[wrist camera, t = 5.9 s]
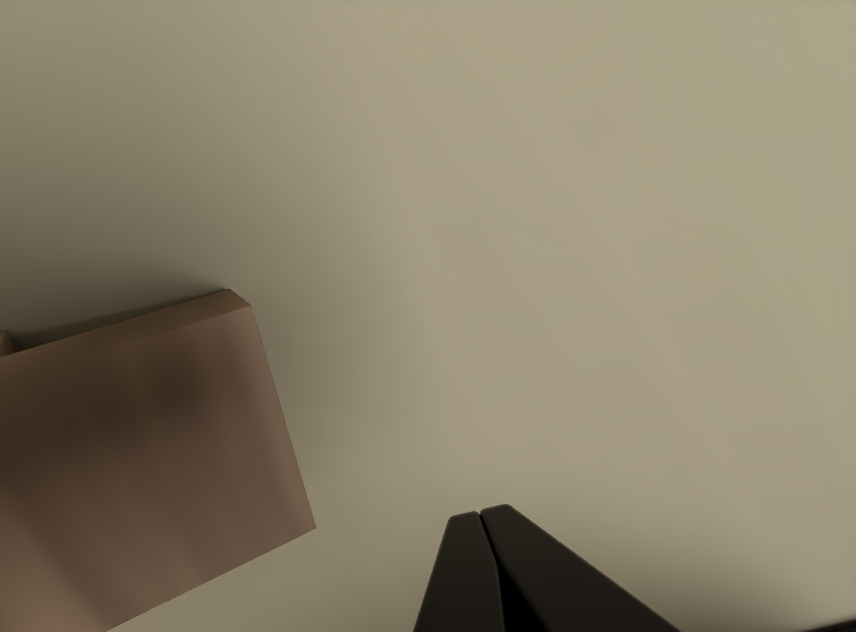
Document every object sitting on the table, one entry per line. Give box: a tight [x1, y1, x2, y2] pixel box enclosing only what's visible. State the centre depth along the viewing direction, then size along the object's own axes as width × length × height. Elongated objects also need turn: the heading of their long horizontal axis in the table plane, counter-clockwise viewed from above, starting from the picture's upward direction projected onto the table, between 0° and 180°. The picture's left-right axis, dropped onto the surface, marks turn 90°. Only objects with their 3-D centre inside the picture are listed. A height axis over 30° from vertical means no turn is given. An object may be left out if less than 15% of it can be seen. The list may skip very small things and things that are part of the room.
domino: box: [0, 289, 316, 632], centre depth 11 cm, size 2×5×9 cm
